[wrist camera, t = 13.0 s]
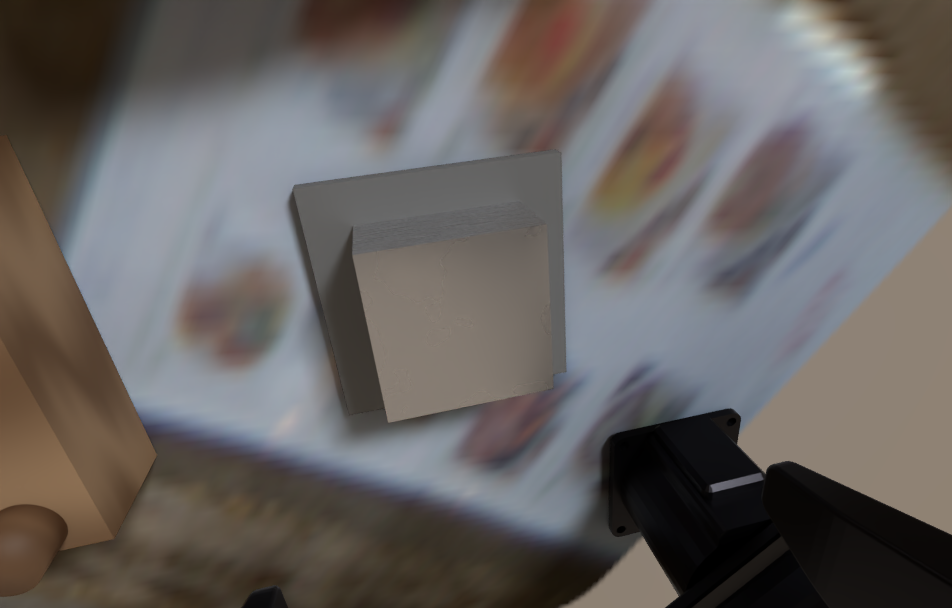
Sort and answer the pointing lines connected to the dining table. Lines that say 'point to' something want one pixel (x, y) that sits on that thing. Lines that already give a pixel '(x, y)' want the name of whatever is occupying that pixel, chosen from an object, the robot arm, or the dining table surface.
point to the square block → (456, 307)
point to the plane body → (55, 402)
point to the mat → (407, 195)
